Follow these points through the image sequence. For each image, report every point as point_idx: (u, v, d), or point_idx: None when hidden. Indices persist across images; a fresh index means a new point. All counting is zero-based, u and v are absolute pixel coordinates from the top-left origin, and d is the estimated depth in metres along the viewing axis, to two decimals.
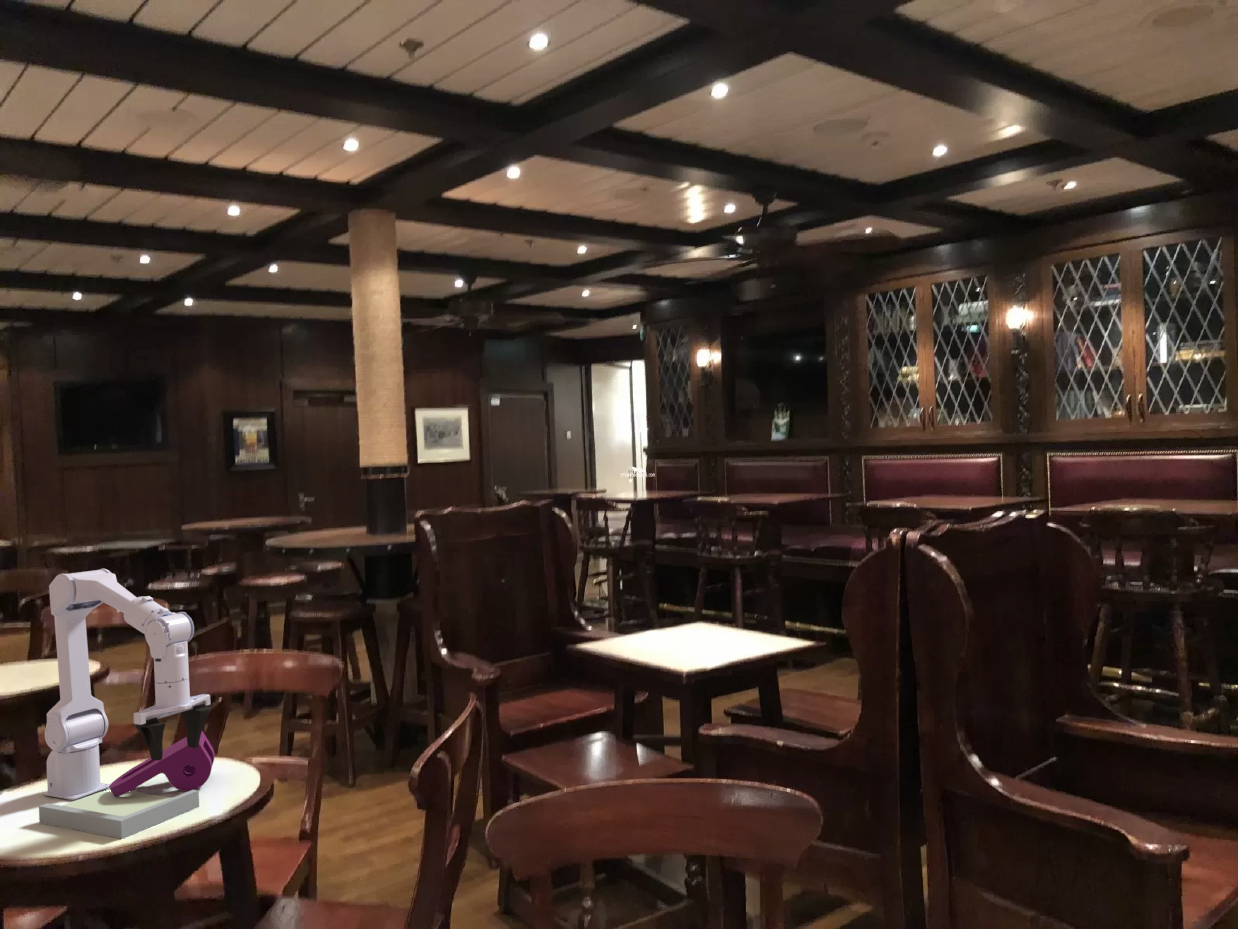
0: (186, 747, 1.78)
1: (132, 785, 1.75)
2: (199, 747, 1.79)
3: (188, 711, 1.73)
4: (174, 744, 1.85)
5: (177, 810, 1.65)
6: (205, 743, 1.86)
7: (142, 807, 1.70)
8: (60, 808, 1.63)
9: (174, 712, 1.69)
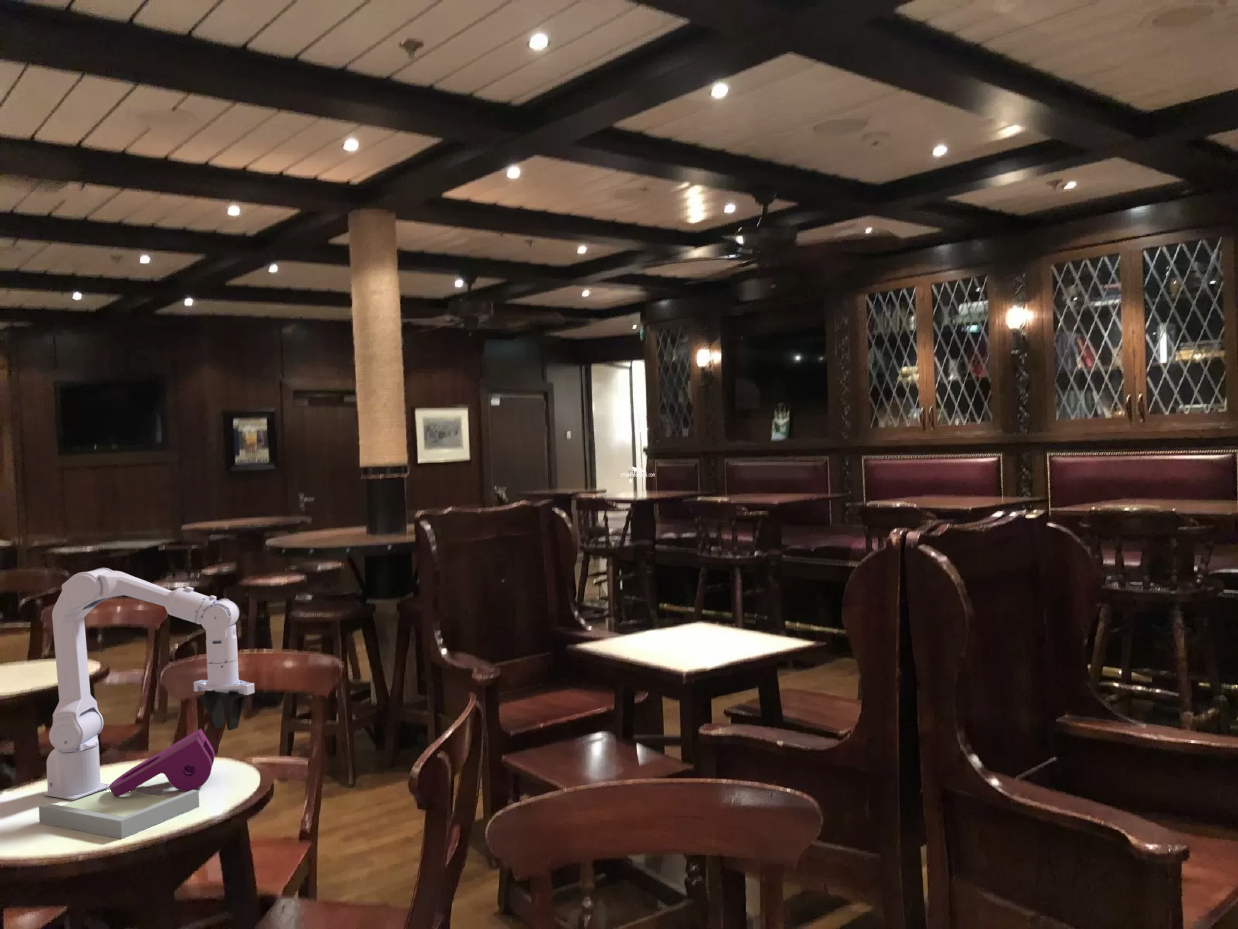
0: (186, 747, 1.78)
1: (132, 785, 1.75)
2: (199, 747, 1.79)
3: None
4: (174, 744, 1.85)
5: (177, 810, 1.65)
6: (205, 743, 1.86)
7: (142, 807, 1.70)
8: (60, 808, 1.63)
9: (222, 690, 1.84)
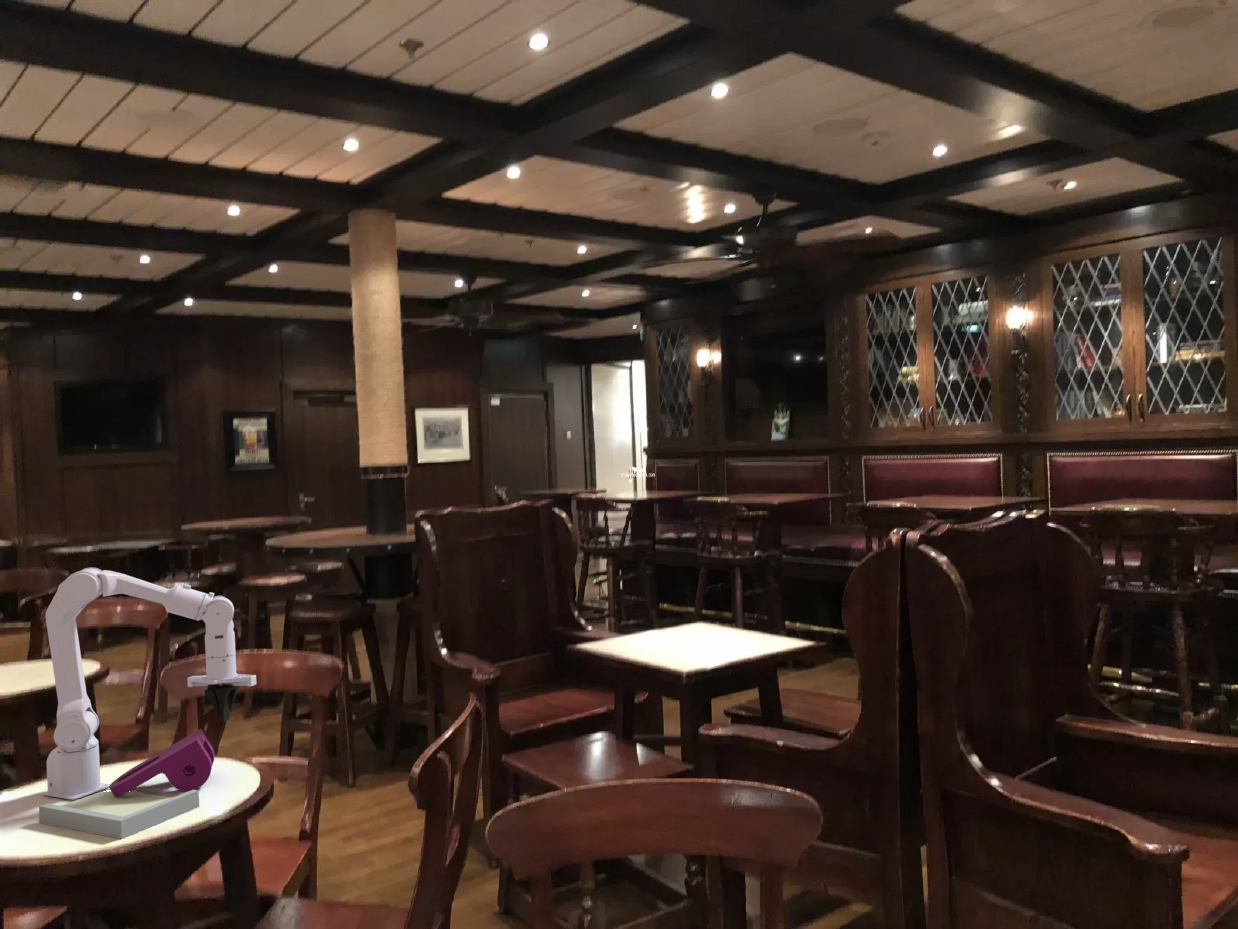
0: (186, 747, 1.78)
1: (132, 785, 1.75)
2: (199, 747, 1.79)
3: None
4: (174, 744, 1.85)
5: (177, 810, 1.65)
6: (205, 743, 1.86)
7: (142, 807, 1.70)
8: (60, 808, 1.63)
9: (220, 684, 1.90)
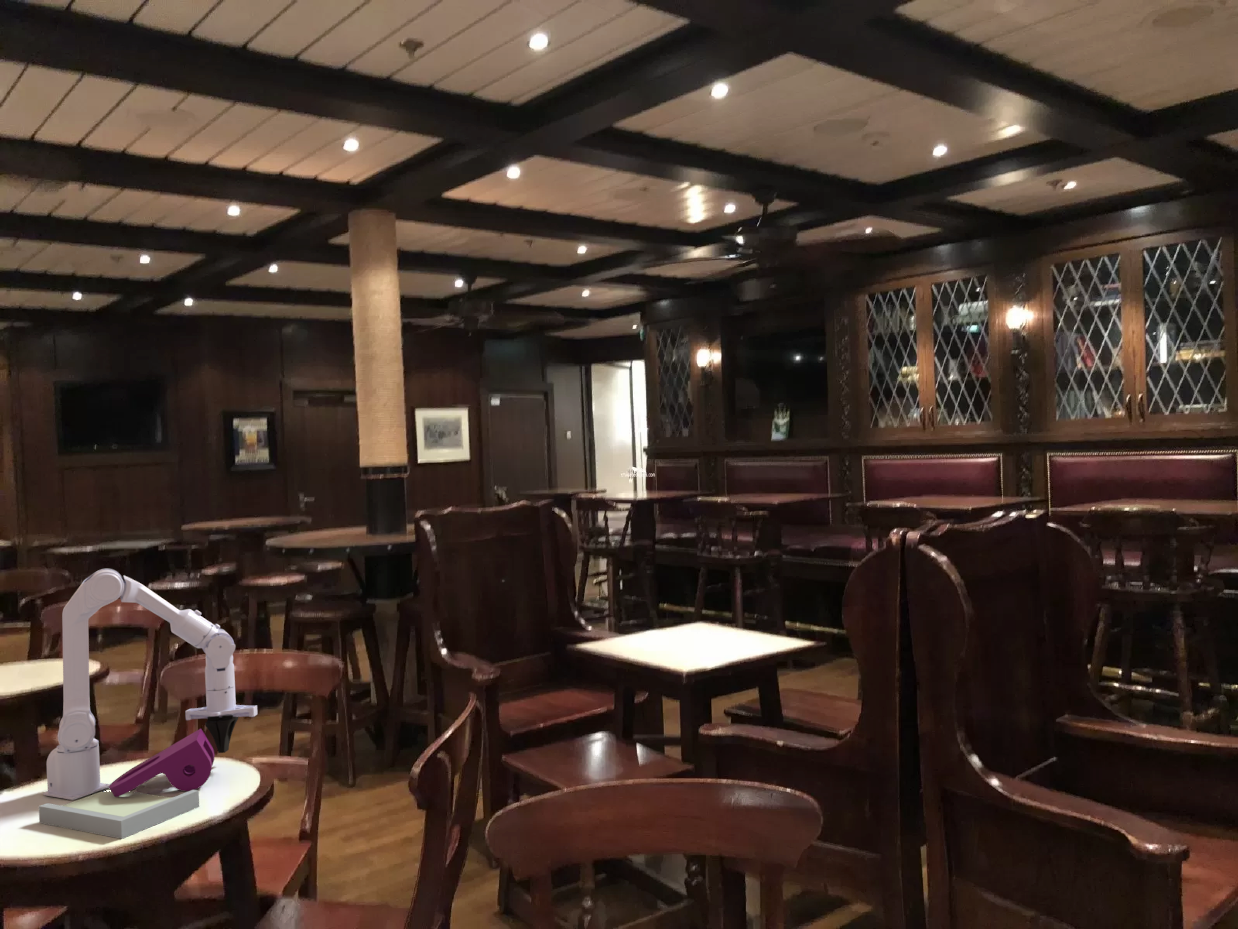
0: (186, 747, 1.78)
1: (132, 785, 1.75)
2: (199, 747, 1.79)
3: None
4: (174, 744, 1.85)
5: (177, 810, 1.65)
6: (205, 743, 1.86)
7: (142, 807, 1.70)
8: (60, 808, 1.63)
9: (220, 716, 1.94)
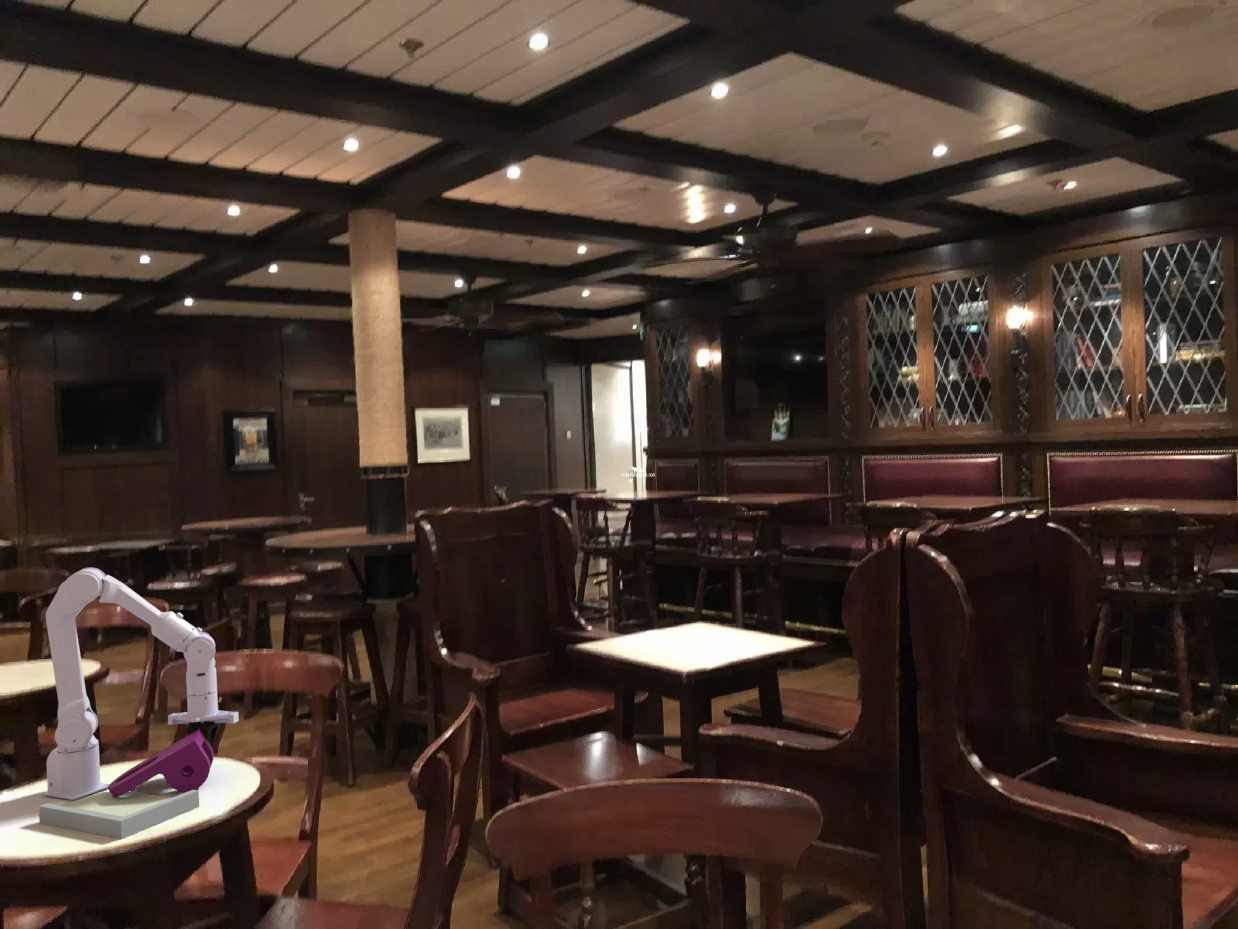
0: (184, 748, 1.77)
1: (130, 786, 1.74)
2: (197, 748, 1.78)
3: None
4: (173, 744, 1.84)
5: (177, 810, 1.65)
6: (204, 743, 1.85)
7: (142, 807, 1.70)
8: (60, 808, 1.63)
9: (202, 721, 1.90)
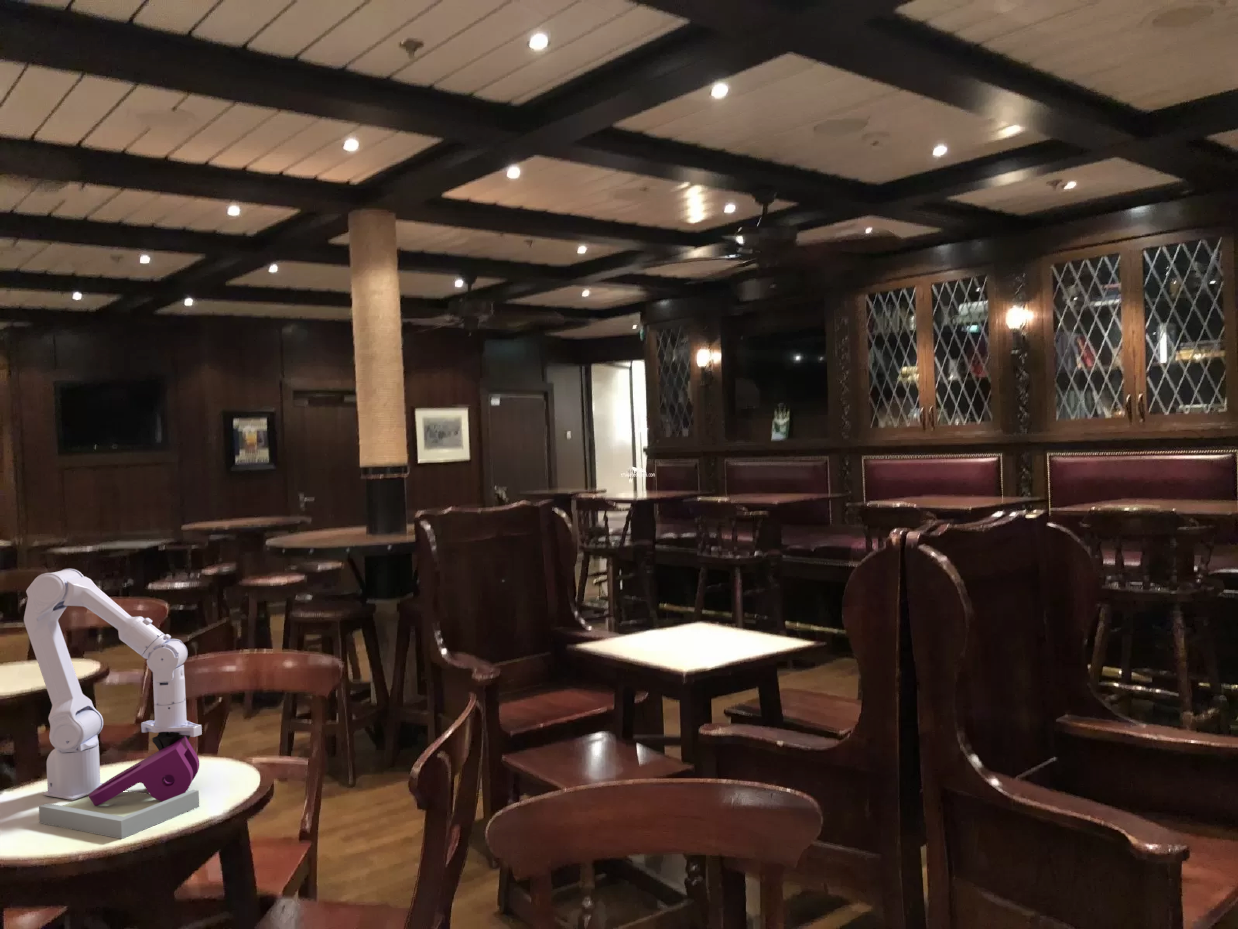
0: (165, 756, 1.72)
1: (110, 794, 1.70)
2: (178, 756, 1.73)
3: None
4: (157, 752, 1.80)
5: (177, 810, 1.65)
6: (188, 751, 1.80)
7: (142, 807, 1.70)
8: (60, 808, 1.63)
9: (169, 732, 1.83)
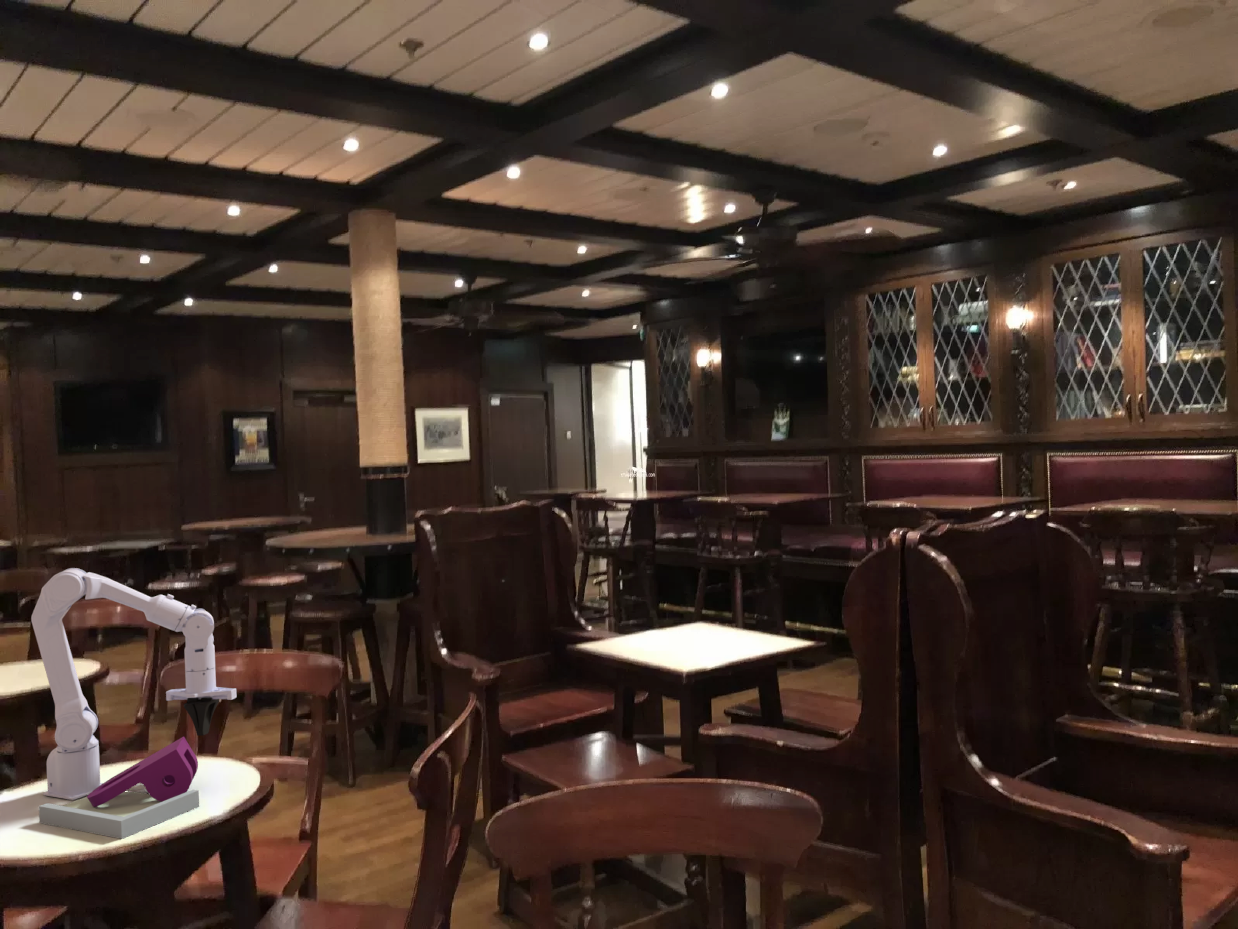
0: (165, 756, 1.72)
1: (109, 795, 1.69)
2: (179, 757, 1.73)
3: None
4: (156, 752, 1.79)
5: (177, 810, 1.65)
6: (187, 752, 1.80)
7: (142, 807, 1.70)
8: (60, 808, 1.63)
9: (200, 698, 1.89)
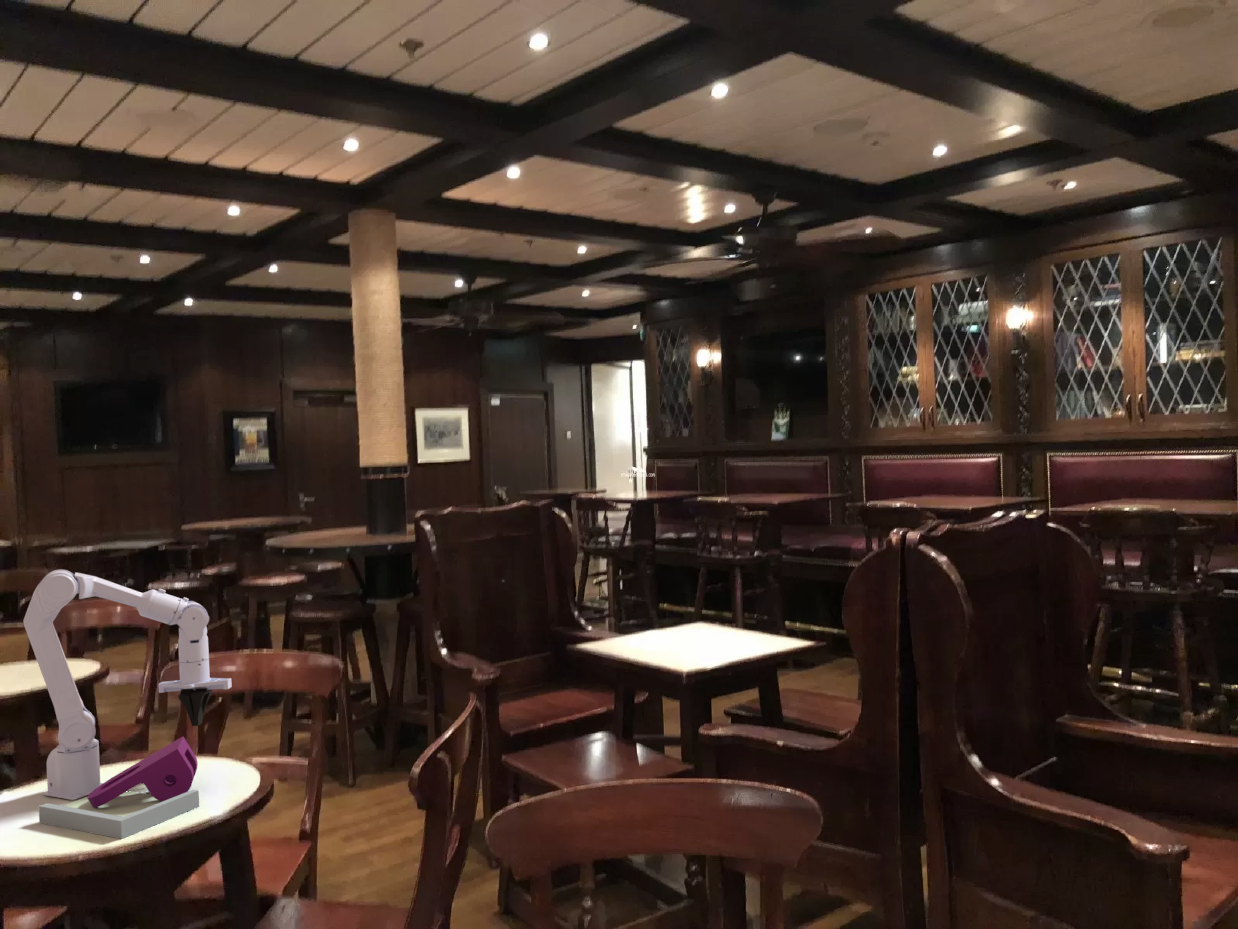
0: (166, 756, 1.72)
1: (110, 796, 1.69)
2: (180, 756, 1.73)
3: None
4: (155, 753, 1.79)
5: (177, 810, 1.65)
6: (187, 751, 1.80)
7: (142, 807, 1.70)
8: (60, 808, 1.63)
9: (194, 688, 1.92)
